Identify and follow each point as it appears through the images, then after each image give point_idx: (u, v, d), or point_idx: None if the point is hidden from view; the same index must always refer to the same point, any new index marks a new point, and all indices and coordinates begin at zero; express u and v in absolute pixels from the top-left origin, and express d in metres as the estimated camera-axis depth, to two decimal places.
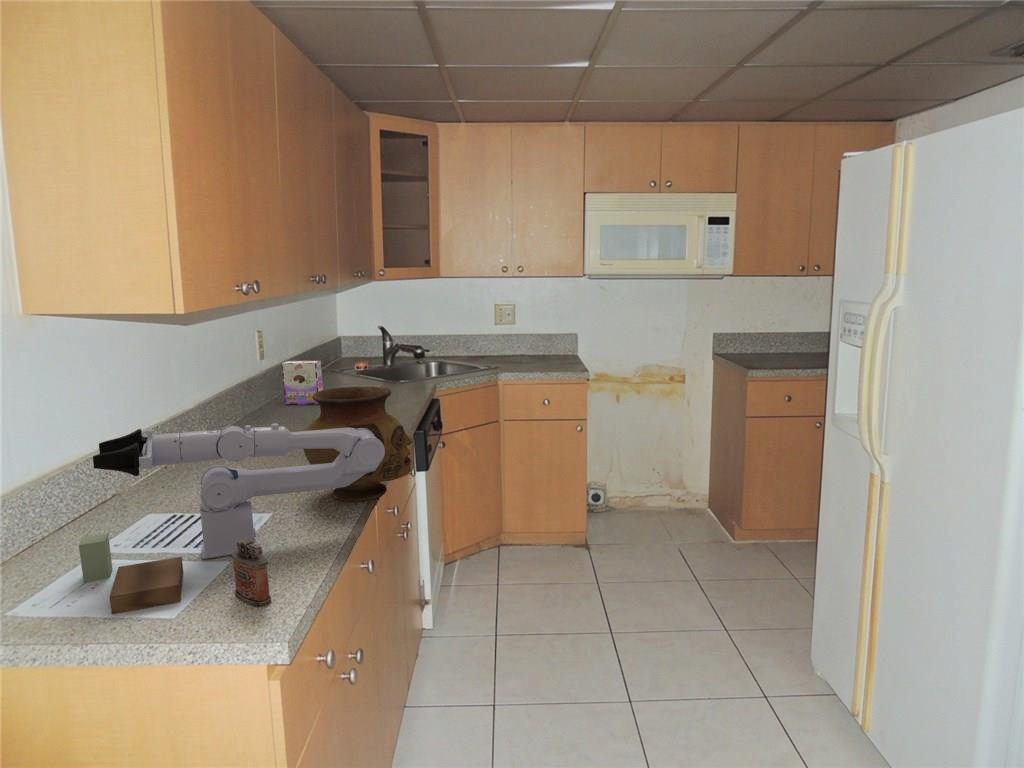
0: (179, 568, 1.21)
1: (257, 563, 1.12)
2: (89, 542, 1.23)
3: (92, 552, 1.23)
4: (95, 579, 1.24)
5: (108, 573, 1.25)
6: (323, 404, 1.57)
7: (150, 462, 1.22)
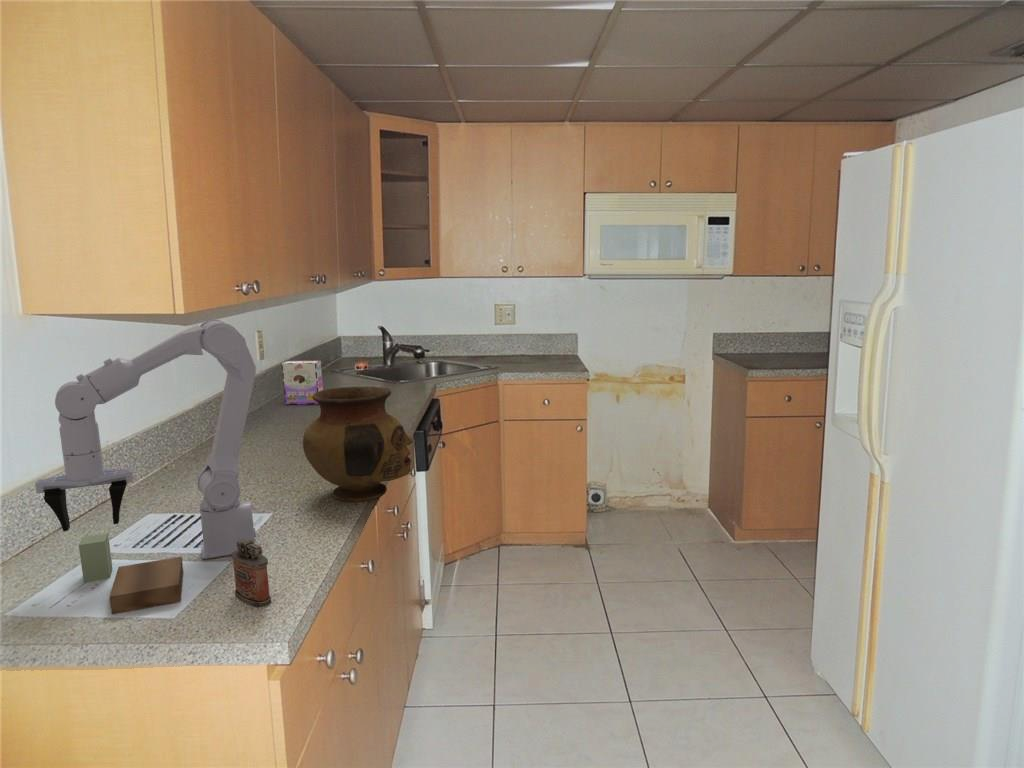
0: (179, 568, 1.21)
1: (257, 563, 1.12)
2: (89, 542, 1.23)
3: (92, 552, 1.23)
4: (95, 579, 1.24)
5: (108, 573, 1.25)
6: (323, 404, 1.57)
7: (132, 471, 1.25)
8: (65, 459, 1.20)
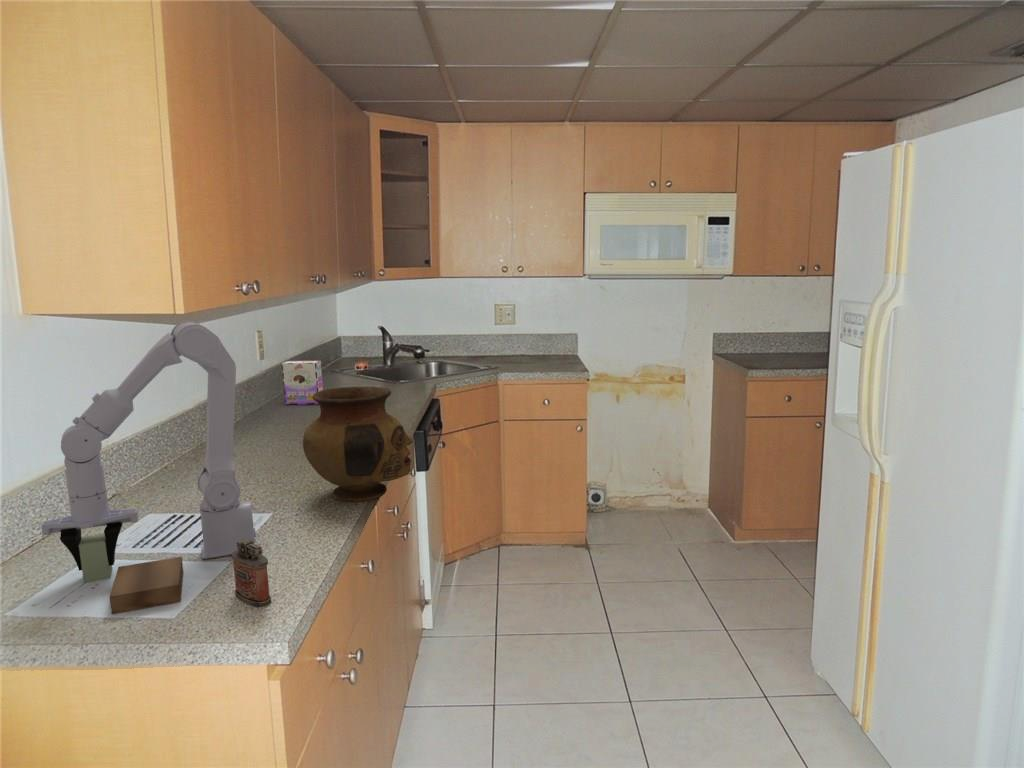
0: (179, 568, 1.21)
1: (257, 563, 1.12)
2: (89, 542, 1.23)
3: (92, 552, 1.23)
4: (95, 579, 1.24)
5: (108, 573, 1.25)
6: (323, 404, 1.57)
7: (136, 511, 1.27)
8: (71, 501, 1.21)
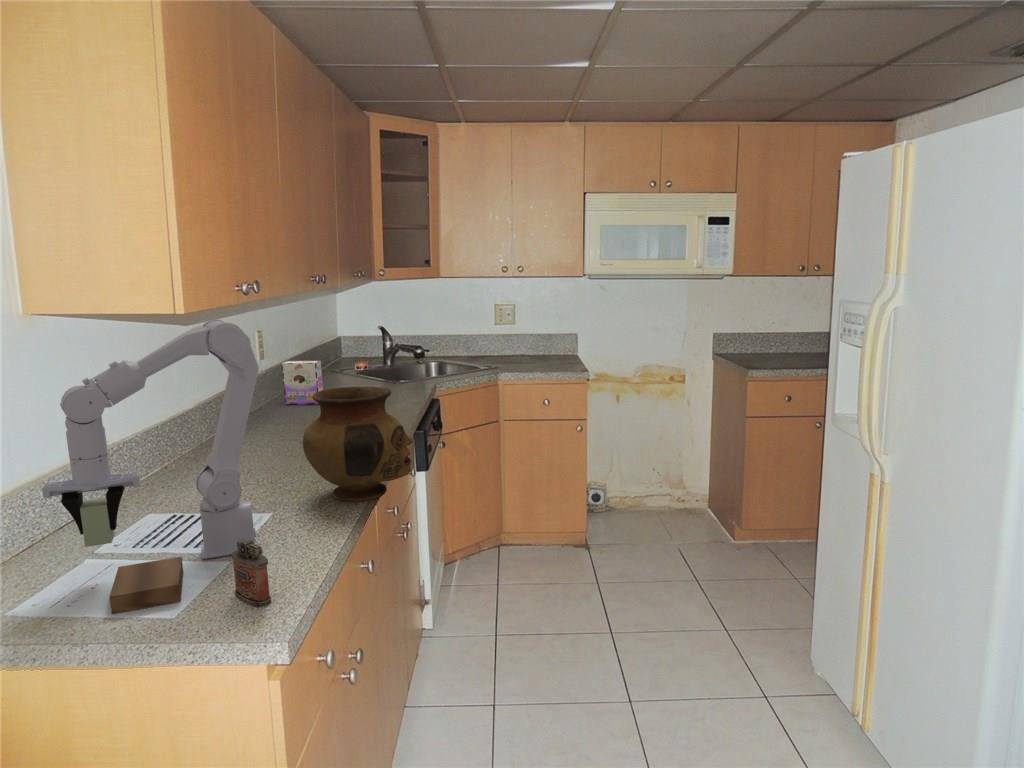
0: (179, 568, 1.21)
1: (257, 563, 1.12)
2: (90, 506, 1.21)
3: (94, 516, 1.21)
4: (97, 543, 1.22)
5: (110, 537, 1.23)
6: (323, 404, 1.57)
7: (139, 475, 1.25)
8: (72, 463, 1.19)
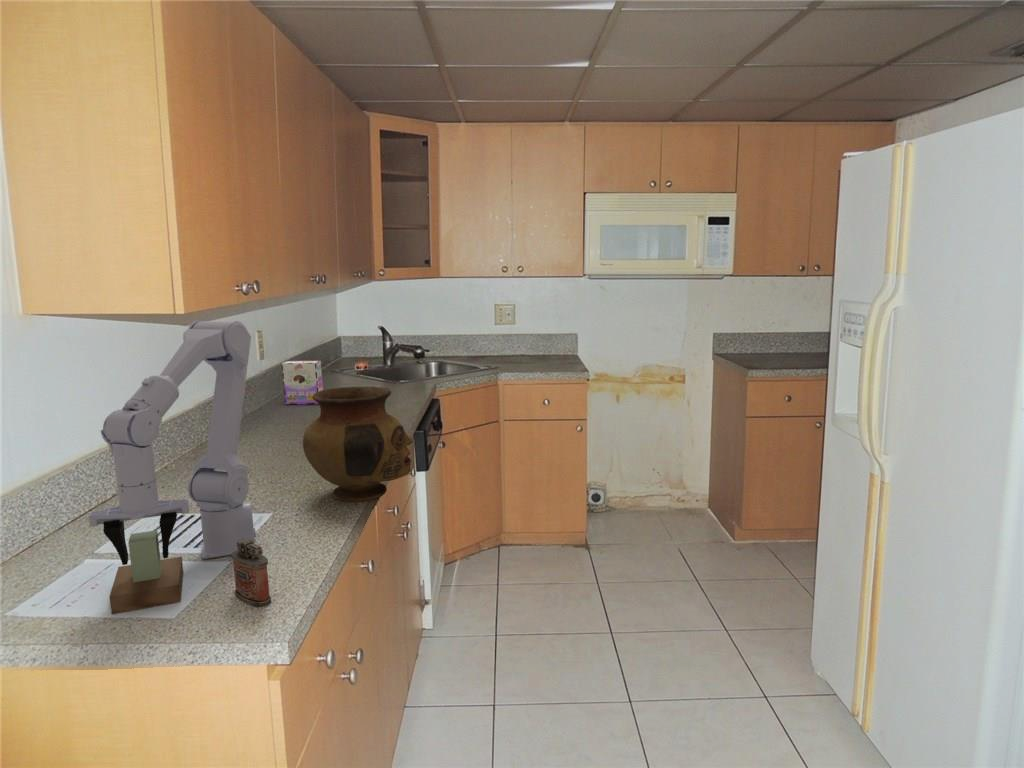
0: (179, 568, 1.21)
1: (257, 563, 1.12)
2: (139, 540, 1.16)
3: (142, 550, 1.16)
4: (145, 579, 1.17)
5: (158, 572, 1.18)
6: (323, 404, 1.57)
7: (187, 501, 1.19)
8: (120, 490, 1.14)
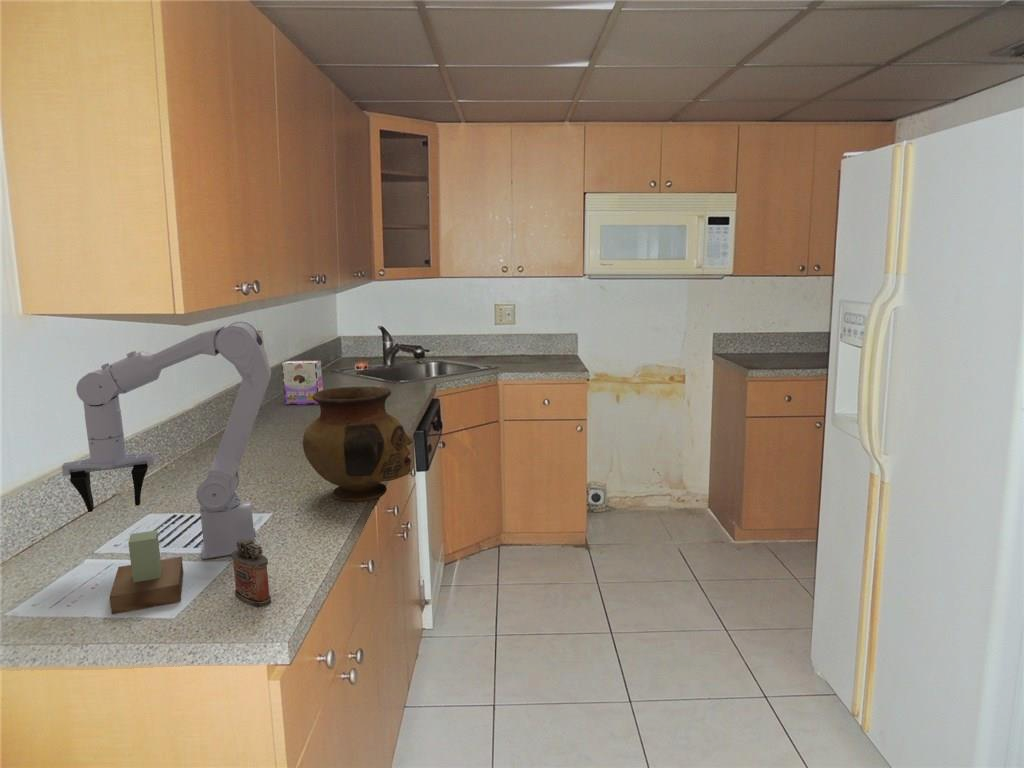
0: (179, 568, 1.21)
1: (257, 563, 1.12)
2: (139, 540, 1.16)
3: (142, 550, 1.16)
4: (145, 579, 1.17)
5: (158, 572, 1.18)
6: (323, 404, 1.57)
7: (152, 455, 1.32)
8: (90, 443, 1.26)
